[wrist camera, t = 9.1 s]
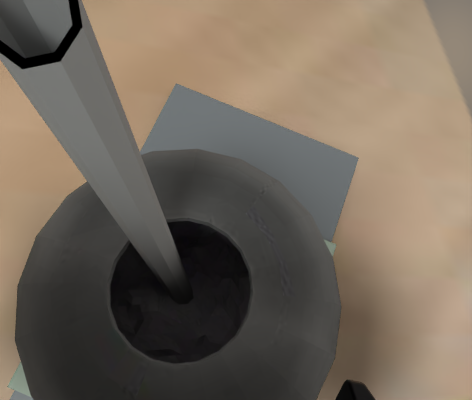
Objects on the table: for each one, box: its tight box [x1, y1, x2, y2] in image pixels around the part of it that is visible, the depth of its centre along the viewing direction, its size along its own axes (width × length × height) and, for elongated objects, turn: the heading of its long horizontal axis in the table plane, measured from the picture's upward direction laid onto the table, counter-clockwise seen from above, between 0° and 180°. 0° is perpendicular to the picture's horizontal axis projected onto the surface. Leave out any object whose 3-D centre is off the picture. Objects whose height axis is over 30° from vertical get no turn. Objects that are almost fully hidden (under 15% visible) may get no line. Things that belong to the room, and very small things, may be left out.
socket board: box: [7, 84, 358, 400], centre depth 21 cm, size 22×12×2 cm, turn 159°
